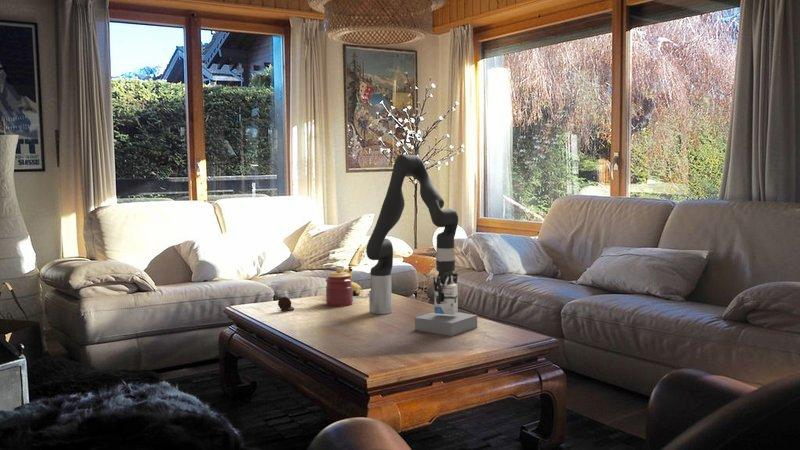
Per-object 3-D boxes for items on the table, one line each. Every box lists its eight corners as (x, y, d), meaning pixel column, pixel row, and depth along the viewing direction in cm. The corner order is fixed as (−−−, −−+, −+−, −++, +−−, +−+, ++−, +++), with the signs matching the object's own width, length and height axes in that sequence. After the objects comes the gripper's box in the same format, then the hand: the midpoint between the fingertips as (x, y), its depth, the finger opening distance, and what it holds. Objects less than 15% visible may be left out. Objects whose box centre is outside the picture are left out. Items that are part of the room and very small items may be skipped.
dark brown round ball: (296, 309, 325) (295, 293, 325) (290, 312, 318) (290, 296, 317) (279, 308, 327) (279, 293, 326) (273, 312, 319) (273, 296, 318)
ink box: (434, 313, 280) (433, 284, 279) (438, 311, 285) (437, 282, 284) (454, 314, 277) (454, 285, 276) (458, 312, 282) (457, 283, 281)
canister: (351, 306, 329) (351, 269, 327) (324, 307, 329) (323, 270, 327) (354, 301, 342) (353, 265, 340) (327, 301, 342) (326, 266, 340)
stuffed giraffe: (333, 294, 363) (334, 263, 361) (366, 292, 369) (367, 263, 367) (341, 300, 348) (342, 269, 346) (376, 299, 354) (376, 268, 352)
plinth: (415, 329, 280) (414, 317, 280) (441, 321, 294) (440, 309, 294) (452, 336, 269) (451, 323, 269) (477, 327, 283) (477, 315, 282)
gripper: (448, 256, 287) (448, 296, 289) (427, 260, 276) (427, 302, 277) (463, 257, 282) (463, 298, 284) (442, 261, 271) (443, 304, 273)
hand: (445, 300), depth 281 cm, fingers closed on ink box, 5 cm apart
